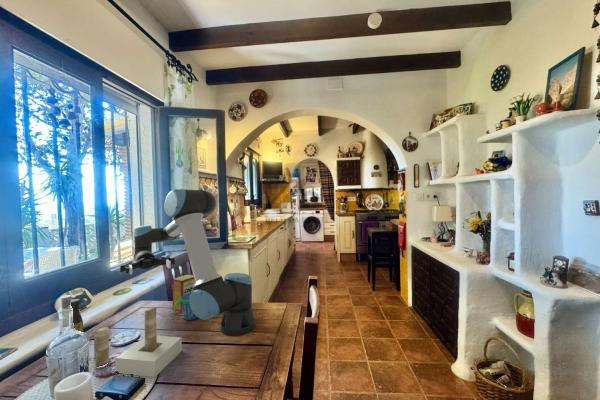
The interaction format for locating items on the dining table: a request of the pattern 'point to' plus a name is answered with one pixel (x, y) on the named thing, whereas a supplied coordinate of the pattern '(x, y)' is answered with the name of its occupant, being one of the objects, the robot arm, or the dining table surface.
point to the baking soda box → (182, 288)
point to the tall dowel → (150, 330)
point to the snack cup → (185, 307)
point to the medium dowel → (102, 346)
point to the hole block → (148, 357)
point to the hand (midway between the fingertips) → (151, 268)
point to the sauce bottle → (77, 315)
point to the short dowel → (94, 346)
